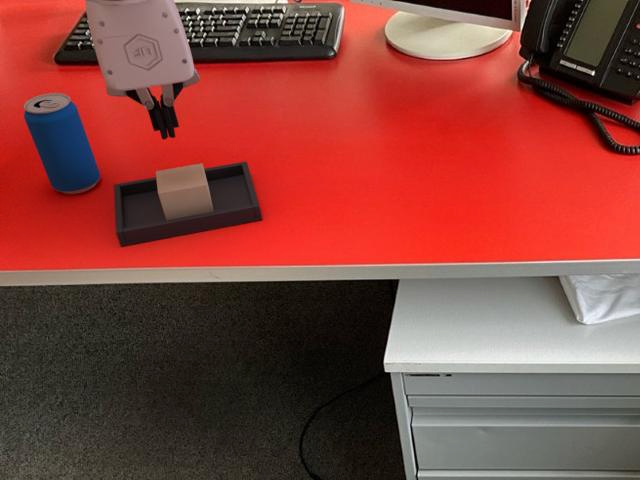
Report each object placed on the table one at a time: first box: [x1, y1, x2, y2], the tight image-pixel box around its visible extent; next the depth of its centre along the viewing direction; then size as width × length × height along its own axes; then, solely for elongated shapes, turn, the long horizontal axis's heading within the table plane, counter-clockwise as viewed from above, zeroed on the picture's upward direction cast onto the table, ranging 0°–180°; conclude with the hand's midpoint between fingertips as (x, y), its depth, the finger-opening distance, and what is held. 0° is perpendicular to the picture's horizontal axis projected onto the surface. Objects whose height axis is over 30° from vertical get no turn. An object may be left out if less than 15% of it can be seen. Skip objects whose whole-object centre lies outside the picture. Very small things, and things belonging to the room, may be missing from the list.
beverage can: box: [23, 92, 102, 195], centre depth 119 cm, size 6×6×12 cm
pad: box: [155, 162, 214, 220], centre depth 116 cm, size 6×6×4 cm
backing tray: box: [113, 161, 263, 247], centre depth 117 cm, size 18×13×2 cm
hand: (168, 133), depth 111 cm, fingers closed
